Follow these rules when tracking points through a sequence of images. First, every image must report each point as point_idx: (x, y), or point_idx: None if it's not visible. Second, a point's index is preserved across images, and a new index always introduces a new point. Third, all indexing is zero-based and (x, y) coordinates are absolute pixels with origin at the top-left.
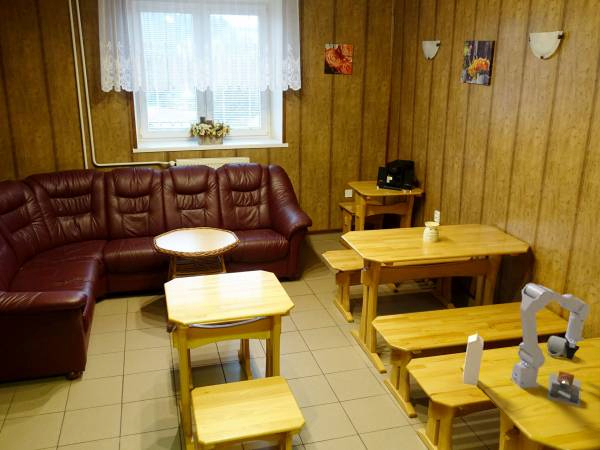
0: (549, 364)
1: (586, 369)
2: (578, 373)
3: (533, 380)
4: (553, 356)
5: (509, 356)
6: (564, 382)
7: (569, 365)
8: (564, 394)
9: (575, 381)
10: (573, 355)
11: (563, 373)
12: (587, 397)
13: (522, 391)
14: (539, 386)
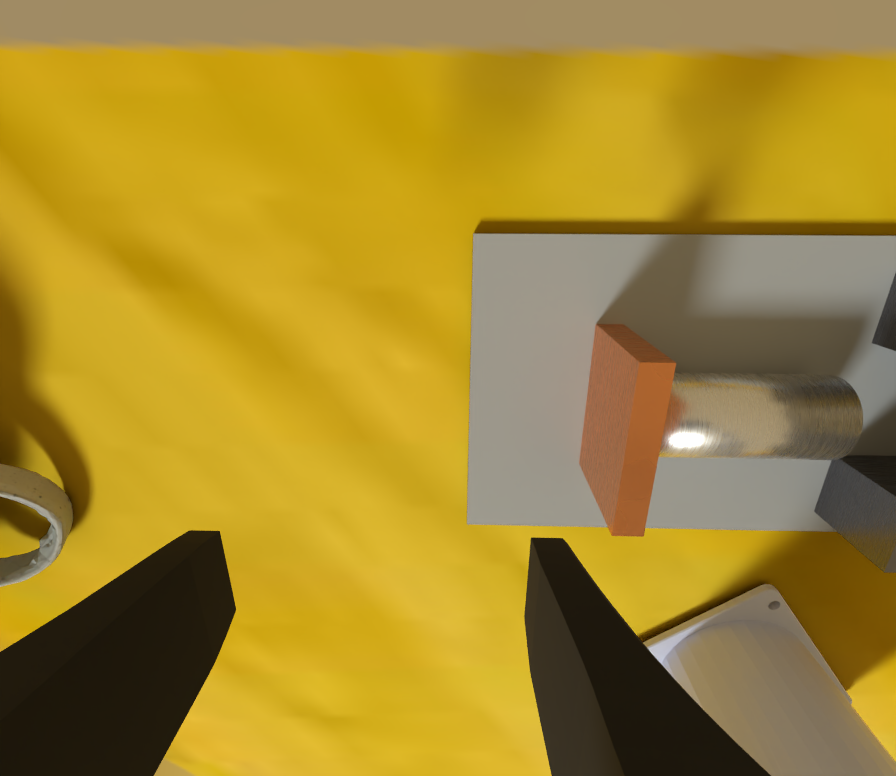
0: (265, 526)
1: (79, 158)
2: (262, 256)
3: (840, 693)
4: (69, 505)
5: (343, 767)
6: (791, 446)
7: (135, 354)
8: (868, 396)
9: (512, 291)
10: (629, 633)
11: (647, 486)
12: (832, 146)
13: (884, 679)
14: (778, 592)
